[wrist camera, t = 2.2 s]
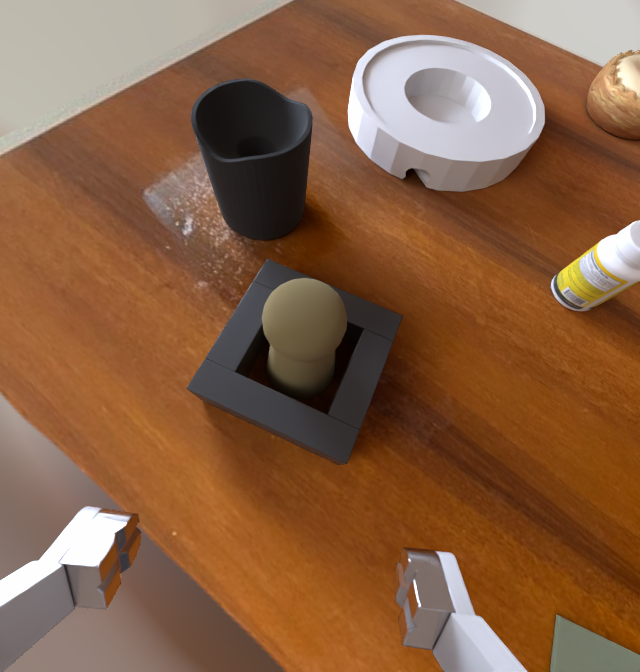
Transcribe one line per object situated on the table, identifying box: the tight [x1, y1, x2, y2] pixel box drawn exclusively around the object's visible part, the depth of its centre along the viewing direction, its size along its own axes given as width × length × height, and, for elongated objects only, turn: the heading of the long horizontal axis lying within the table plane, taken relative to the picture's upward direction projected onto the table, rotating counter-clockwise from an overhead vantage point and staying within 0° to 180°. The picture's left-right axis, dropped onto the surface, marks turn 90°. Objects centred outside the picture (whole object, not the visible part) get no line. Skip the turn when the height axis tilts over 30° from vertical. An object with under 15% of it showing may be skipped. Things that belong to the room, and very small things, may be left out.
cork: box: [262, 278, 347, 399], centre depth 24 cm, size 6×6×11 cm
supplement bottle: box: [551, 220, 640, 311], centre depth 30 cm, size 5×5×8 cm
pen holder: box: [191, 79, 312, 240], centre depth 30 cm, size 9×9×10 cm
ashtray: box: [348, 35, 545, 192], centre depth 41 cm, size 23×23×4 cm
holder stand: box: [187, 259, 403, 465], centre depth 27 cm, size 12×12×4 cm
